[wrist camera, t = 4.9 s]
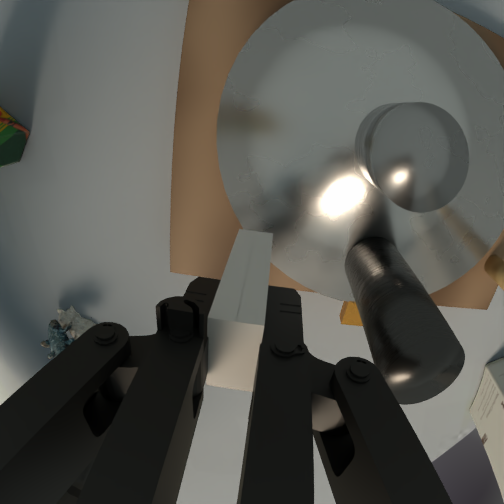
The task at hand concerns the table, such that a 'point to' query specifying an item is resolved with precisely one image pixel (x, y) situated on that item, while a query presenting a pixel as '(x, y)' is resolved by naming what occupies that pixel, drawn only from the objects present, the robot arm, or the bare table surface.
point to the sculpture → (59, 328)
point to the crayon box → (11, 139)
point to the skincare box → (492, 416)
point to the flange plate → (319, 125)
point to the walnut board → (206, 157)
